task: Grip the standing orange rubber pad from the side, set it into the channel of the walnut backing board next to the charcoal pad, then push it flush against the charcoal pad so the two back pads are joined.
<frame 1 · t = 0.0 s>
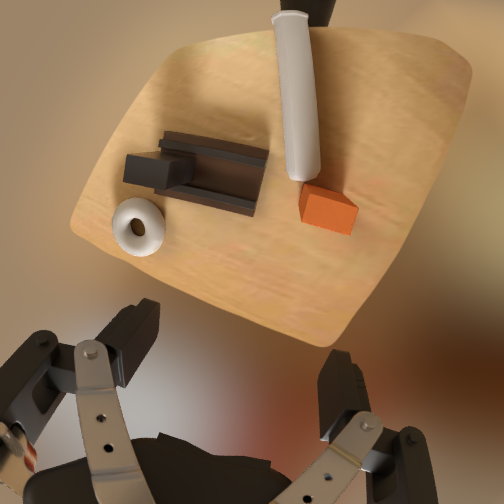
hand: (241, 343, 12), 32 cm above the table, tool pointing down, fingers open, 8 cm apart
tube: (297, 96, 36), on the table
donut: (142, 224, 46), on the table
orange pad: (320, 199, 41), on the table
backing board: (209, 171, 41), on the table
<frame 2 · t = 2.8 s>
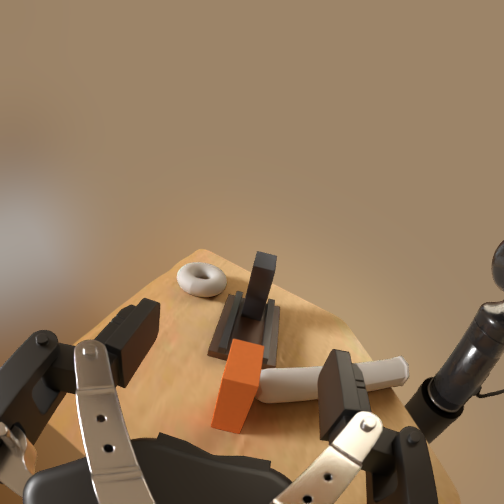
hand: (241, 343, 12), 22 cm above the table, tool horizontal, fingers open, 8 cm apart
tube: (330, 392, 37), on the table
donut: (200, 286, 56), on the table
orange pad: (229, 412, 31), on the table
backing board: (247, 331, 47), on the table
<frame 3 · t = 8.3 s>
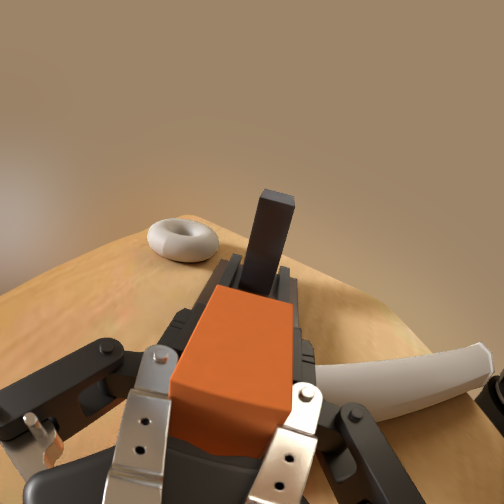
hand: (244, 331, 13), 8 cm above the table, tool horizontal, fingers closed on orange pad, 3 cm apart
tube: (391, 406, 19), on the table
donut: (181, 251, 39), on the table
orange pad: (209, 454, 13), on the table, touching gripper
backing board: (248, 310, 29), on the table
when the fingers open (9 cm above the table, at t = 17.0 s): orange pad stays where it is, resting on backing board.
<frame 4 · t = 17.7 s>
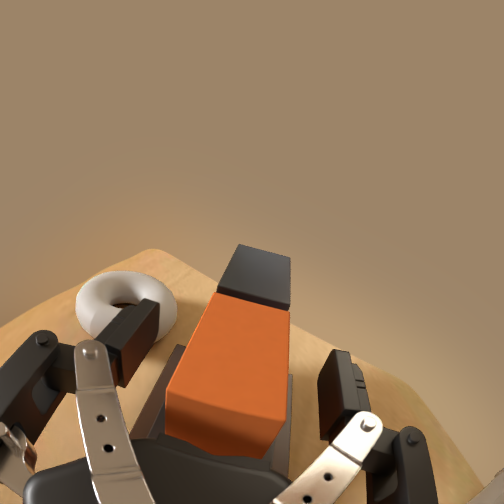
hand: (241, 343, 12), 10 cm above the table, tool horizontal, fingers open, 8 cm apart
donut: (126, 321, 25), on the table
orange pad: (207, 458, 13), point 1 cm above the table, touching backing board
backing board: (211, 446, 15), on the table
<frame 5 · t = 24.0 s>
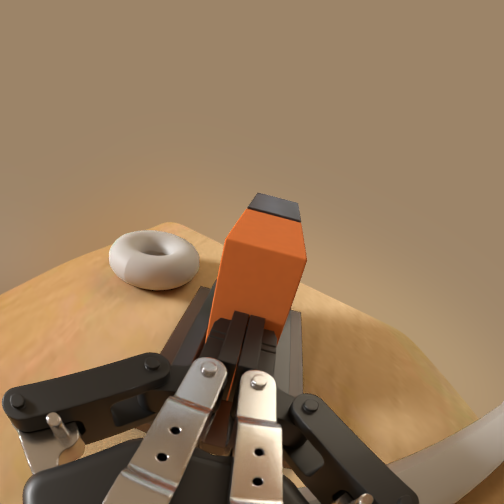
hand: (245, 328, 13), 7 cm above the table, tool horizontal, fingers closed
tube: (419, 492, 10), on the table
donut: (152, 272, 30), on the table
orange pad: (232, 368, 18), point 1 cm above the table, touching gripper
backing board: (233, 364, 20), on the table
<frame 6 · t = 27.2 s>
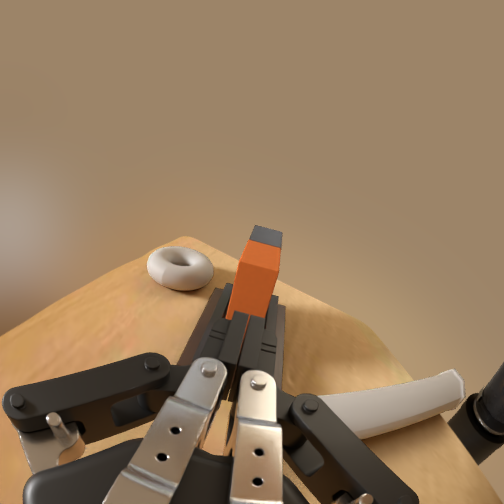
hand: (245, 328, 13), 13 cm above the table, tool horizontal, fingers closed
tube: (362, 427, 22), on the table
donut: (178, 278, 42), on the table
orange pad: (239, 335, 31), point 1 cm above the table, touching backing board
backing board: (239, 338, 32), on the table
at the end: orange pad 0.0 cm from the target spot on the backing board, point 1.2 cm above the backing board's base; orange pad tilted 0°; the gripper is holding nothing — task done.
